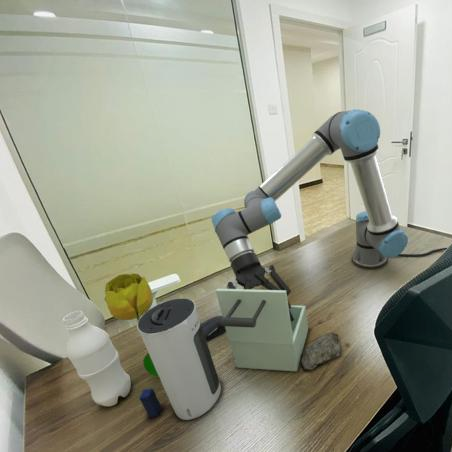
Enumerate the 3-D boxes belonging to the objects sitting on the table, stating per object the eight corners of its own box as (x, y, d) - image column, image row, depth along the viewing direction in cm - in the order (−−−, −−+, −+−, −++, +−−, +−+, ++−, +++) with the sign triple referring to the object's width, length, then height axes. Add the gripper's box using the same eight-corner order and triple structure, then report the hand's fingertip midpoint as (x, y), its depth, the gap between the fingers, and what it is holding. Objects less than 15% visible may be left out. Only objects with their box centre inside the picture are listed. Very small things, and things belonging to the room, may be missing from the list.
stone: (305, 374, 67) (304, 366, 66) (294, 351, 74) (293, 343, 73) (352, 353, 72) (352, 345, 71) (338, 333, 79) (338, 325, 78)
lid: (217, 288, 61) (195, 313, 53) (286, 290, 59) (274, 316, 51) (230, 339, 66) (212, 368, 58) (293, 342, 64) (283, 373, 56)
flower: (141, 376, 69) (96, 280, 57) (175, 356, 74) (139, 265, 62) (149, 397, 63) (101, 296, 52) (185, 375, 68) (148, 278, 57)
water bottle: (111, 383, 67) (69, 305, 57) (140, 380, 67) (103, 302, 58) (89, 412, 60) (37, 329, 51) (121, 408, 61) (76, 326, 51)
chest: (257, 327, 83) (252, 303, 79) (308, 329, 81) (305, 305, 77) (236, 367, 70) (229, 341, 66) (297, 371, 68) (293, 344, 64)
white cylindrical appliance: (212, 419, 58) (180, 328, 48) (164, 424, 57) (121, 334, 47) (226, 375, 67) (202, 293, 58) (185, 380, 67) (154, 297, 57)
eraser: (162, 407, 61) (153, 387, 58) (158, 417, 59) (148, 396, 56) (153, 408, 60) (143, 388, 58) (148, 418, 58) (137, 398, 56)
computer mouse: (242, 337, 79) (239, 327, 78) (178, 371, 69) (174, 360, 68) (228, 316, 88) (225, 307, 87) (170, 344, 78) (166, 334, 77)
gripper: (273, 250, 85) (304, 314, 79) (202, 276, 72) (234, 354, 66) (279, 240, 79) (314, 308, 73) (203, 266, 66) (238, 351, 60)
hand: (276, 330), depth 70 cm, fingers closed on cup, 9 cm apart
